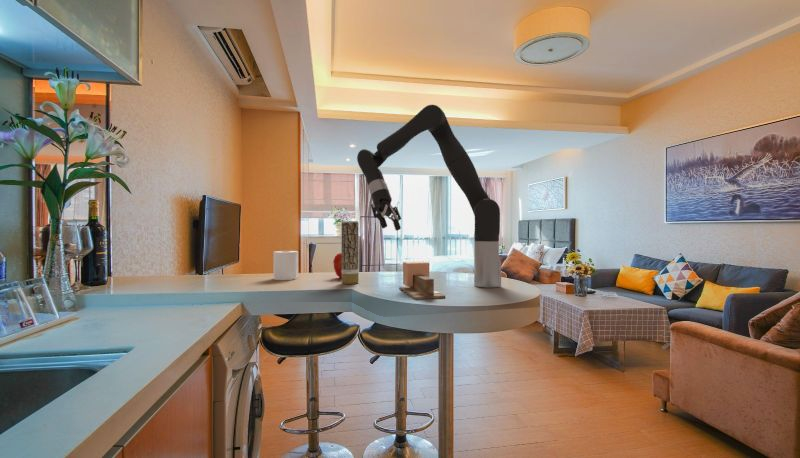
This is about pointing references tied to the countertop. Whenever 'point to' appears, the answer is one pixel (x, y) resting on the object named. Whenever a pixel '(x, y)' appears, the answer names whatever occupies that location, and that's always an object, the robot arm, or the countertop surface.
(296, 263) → the toilet paper
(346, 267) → the brown tall block
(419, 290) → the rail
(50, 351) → the countertop surface
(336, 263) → the apple
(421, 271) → the light brown square block
